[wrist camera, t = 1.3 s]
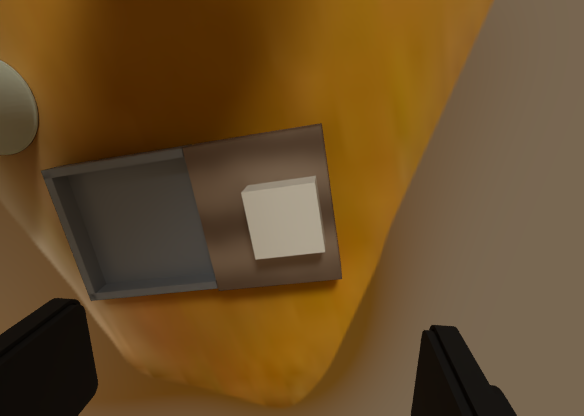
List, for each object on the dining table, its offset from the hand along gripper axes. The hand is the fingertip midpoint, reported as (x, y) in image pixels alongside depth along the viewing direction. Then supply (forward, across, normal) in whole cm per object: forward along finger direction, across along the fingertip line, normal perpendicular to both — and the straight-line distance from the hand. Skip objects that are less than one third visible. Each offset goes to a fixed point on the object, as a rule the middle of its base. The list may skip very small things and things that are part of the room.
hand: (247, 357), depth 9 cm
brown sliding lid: (+24, +3, +3) cm, 24 cm away
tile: (+21, +1, +2) cm, 21 cm away
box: (+24, +16, +5) cm, 30 cm away
